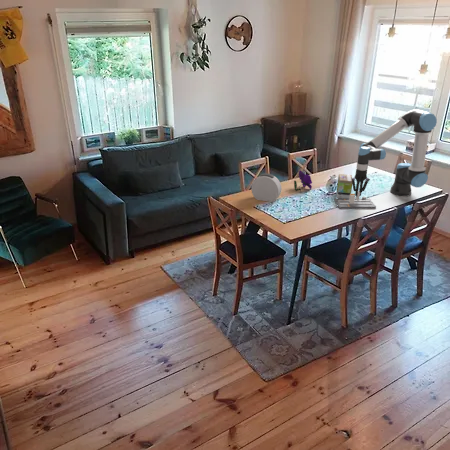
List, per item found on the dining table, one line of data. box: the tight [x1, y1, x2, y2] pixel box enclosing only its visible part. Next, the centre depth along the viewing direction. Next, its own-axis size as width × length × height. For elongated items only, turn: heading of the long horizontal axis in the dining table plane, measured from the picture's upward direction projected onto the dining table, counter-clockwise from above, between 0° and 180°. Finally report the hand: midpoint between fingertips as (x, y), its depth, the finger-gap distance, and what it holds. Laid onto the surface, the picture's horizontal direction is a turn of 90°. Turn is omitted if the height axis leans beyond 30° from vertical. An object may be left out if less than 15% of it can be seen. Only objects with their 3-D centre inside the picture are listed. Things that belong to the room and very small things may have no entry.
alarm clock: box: [251, 173, 283, 203], centre depth 314 cm, size 21×8×20 cm, turn 65°
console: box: [334, 196, 377, 210], centre depth 307 cm, size 26×15×3 cm, turn 89°
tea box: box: [336, 173, 353, 199], centre depth 321 cm, size 15×10×15 cm, turn 168°
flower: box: [293, 170, 313, 192], centre depth 334 cm, size 15×15×14 cm
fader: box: [349, 193, 356, 203], centre depth 306 cm, size 3×3×7 cm
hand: (357, 200), depth 306 cm, fingers closed
